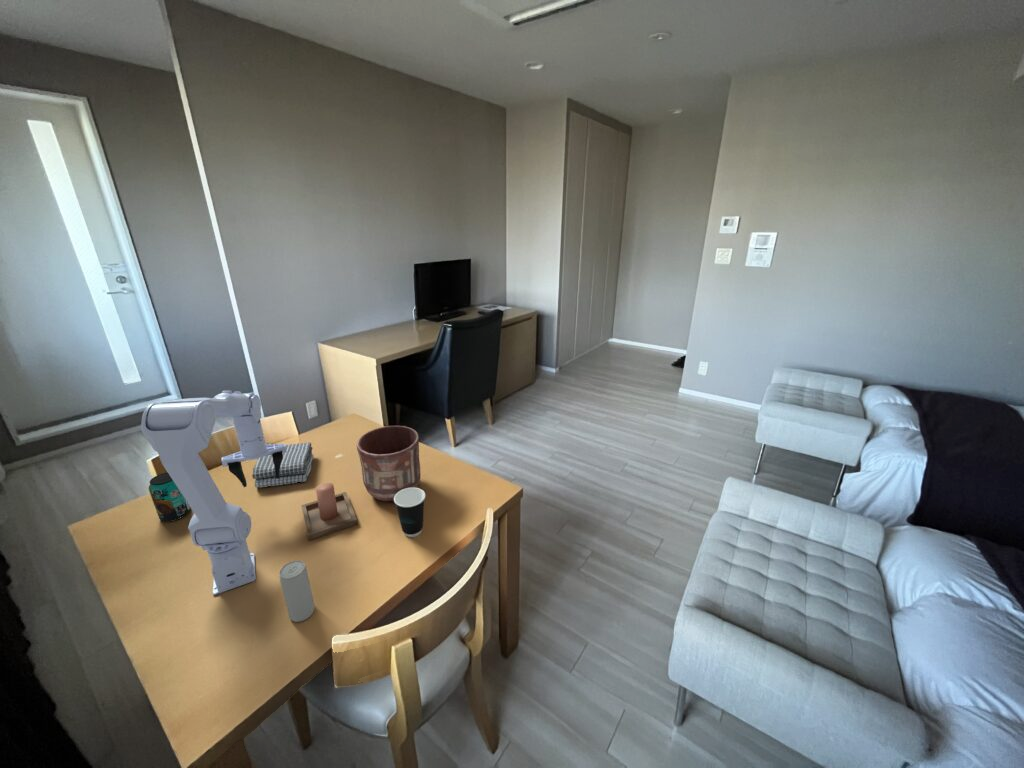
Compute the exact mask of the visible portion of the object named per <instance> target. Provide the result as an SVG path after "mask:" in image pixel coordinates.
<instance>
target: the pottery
mask: <svg viewBox="0 0 1024 768" xmlns="http://www.w3.org/2000/svg"><path fill="white" fill-rule="evenodd" d="M419 438H420V437H419V433H418V432H417V431H416V430H415V429H413V427H412V428H411V427H408V426H406V425H386V426H382V427H378V428H375V429H372V430H370V431H367V432H366V433H364V434H363V435H362V436H361V437H360V438H359V439H358V440H357V443H356V450H357V453H358V456H359V461H360V465H361V474H362V481H363V483H362V484H363V485H364V487H365V489H366V491H367V493H368V494H369V495H370V496H371V497H373V498H375V499H376V500H377V501H382V502H387V503H390V502H391V501H392V502H394V497H395V495H396V494H397V493H398V492H399V491H401V490H403V489H406V488H418V485H419V483H420V481H421V464H420V463H421V461H420V439H419Z"/></svg>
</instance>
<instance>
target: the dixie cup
mask: <svg viewBox="0 0 1024 768" xmlns="http://www.w3.org/2000/svg"><path fill="white" fill-rule="evenodd" d="M425 499H426V492H425V491H424V490H423V489H421V488H419V487H416V488H406V489H403V490H401V491H399V492H398V493H397V494H396V495H395V497H394V501H393V502H394V504H395V506H396V510H397V515H398V518H399V523H400V527H401V531H402V532H403V534H404V536H406V537H408V538H414V537H417V536H419V535H420V534H422V531H423V527H424V511H425V510H424V509H425Z"/></svg>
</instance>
